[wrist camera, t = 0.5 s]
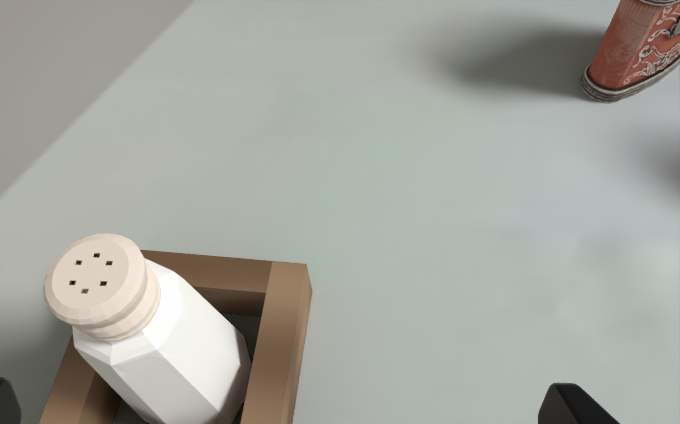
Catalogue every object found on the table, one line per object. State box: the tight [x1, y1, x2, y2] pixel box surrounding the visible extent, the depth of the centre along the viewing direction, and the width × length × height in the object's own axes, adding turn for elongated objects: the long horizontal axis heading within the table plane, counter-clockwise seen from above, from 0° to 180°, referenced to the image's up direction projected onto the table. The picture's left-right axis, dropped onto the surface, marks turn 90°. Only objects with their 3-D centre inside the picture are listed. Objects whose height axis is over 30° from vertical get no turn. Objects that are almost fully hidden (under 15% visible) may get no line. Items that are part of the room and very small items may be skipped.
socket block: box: [39, 250, 312, 424], centre depth 23 cm, size 9×9×3 cm
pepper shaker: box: [44, 233, 252, 424], centre depth 20 cm, size 5×5×11 cm
